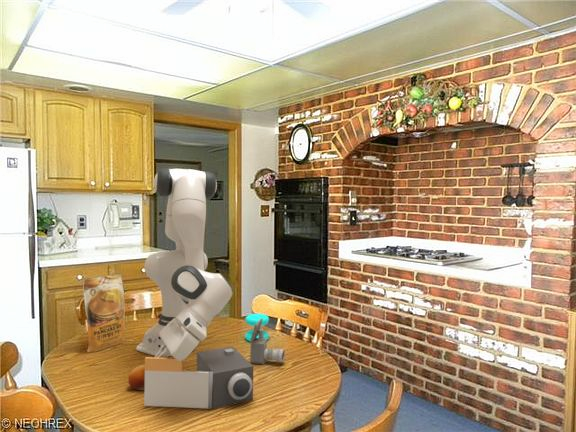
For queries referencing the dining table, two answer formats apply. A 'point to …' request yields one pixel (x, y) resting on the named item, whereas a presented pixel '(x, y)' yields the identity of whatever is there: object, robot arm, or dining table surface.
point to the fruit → (137, 378)
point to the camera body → (227, 375)
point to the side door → (176, 385)
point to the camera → (263, 347)
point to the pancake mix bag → (104, 311)
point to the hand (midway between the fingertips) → (156, 360)
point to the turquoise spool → (253, 320)
